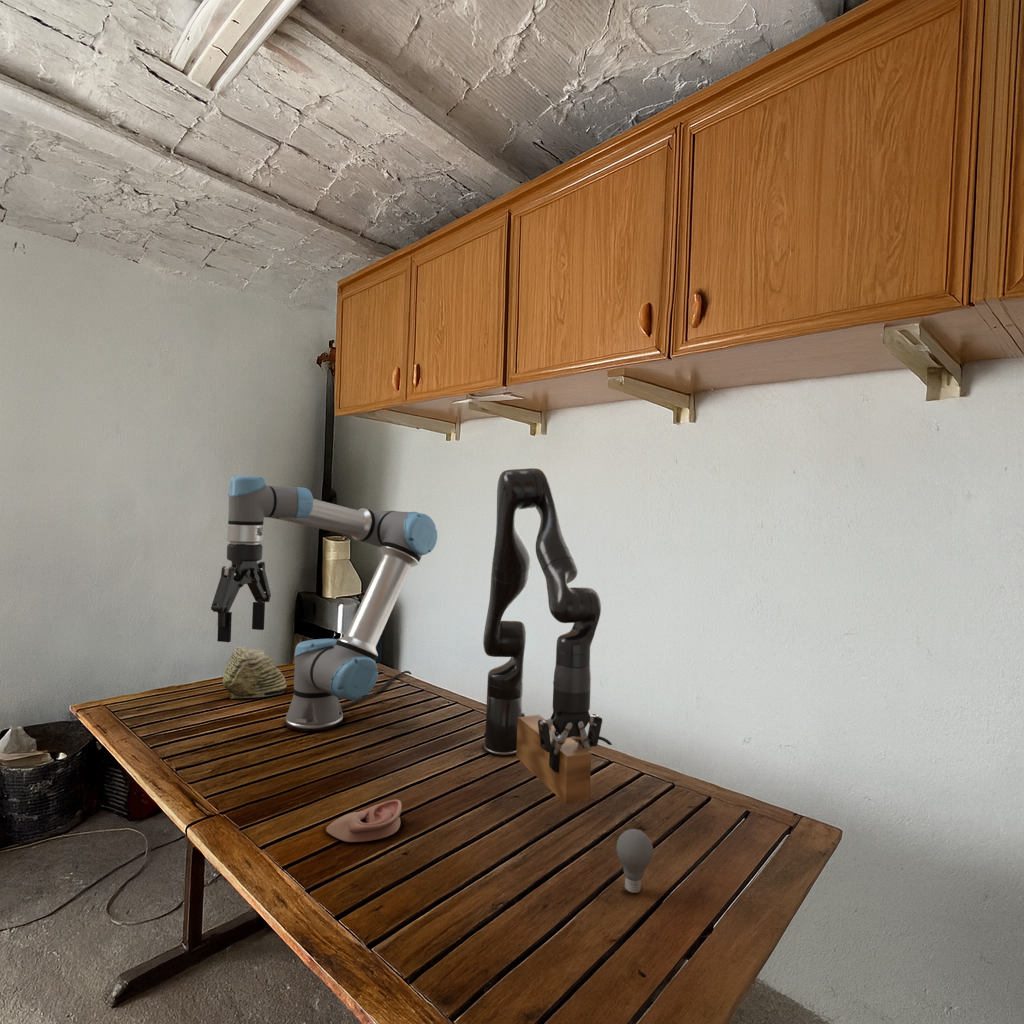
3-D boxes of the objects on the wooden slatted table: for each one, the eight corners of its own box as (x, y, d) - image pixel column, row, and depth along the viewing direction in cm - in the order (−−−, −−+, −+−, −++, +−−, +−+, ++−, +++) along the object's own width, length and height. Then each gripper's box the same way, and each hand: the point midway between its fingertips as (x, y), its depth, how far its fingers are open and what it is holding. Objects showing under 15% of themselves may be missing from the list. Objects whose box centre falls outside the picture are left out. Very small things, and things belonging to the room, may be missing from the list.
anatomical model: (318, 816, 117) (346, 789, 129) (317, 837, 118) (346, 808, 129) (385, 827, 115) (408, 798, 126) (384, 848, 115) (407, 818, 126)
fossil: (218, 695, 195) (220, 647, 195) (278, 685, 208) (279, 640, 207) (228, 703, 189) (230, 653, 188) (289, 692, 201) (290, 645, 201)
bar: (516, 757, 145) (517, 717, 145) (537, 754, 147) (539, 714, 147) (565, 804, 123) (567, 756, 123) (589, 799, 125) (591, 753, 125)
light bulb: (610, 879, 108) (613, 822, 108) (644, 879, 109) (647, 822, 109) (619, 902, 102) (622, 840, 102) (655, 901, 103) (658, 840, 103)
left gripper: (227, 547, 132) (224, 648, 133) (287, 540, 157) (284, 626, 157) (195, 545, 134) (191, 645, 134) (259, 539, 158) (256, 623, 159)
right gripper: (548, 694, 122) (544, 781, 122) (612, 688, 127) (608, 772, 128) (532, 683, 129) (528, 766, 129) (593, 678, 134) (589, 758, 135)
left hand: (241, 635), depth 146 cm, fingers open, 13 cm apart
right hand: (568, 768), depth 128 cm, fingers closed on bar, 5 cm apart
